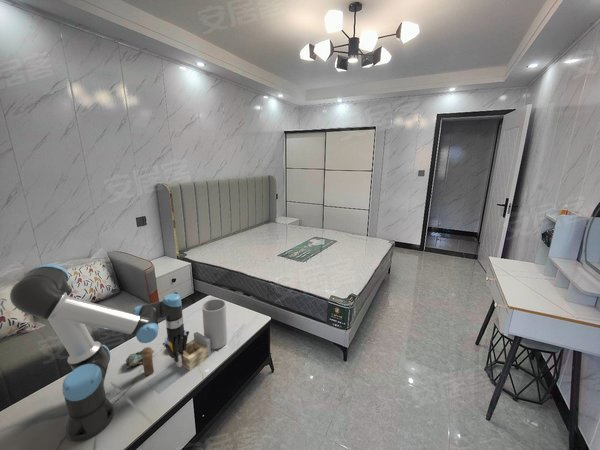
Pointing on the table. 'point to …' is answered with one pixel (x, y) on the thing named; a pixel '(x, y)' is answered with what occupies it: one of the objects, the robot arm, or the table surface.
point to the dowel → (147, 361)
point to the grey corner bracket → (175, 369)
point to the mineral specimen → (135, 359)
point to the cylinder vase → (215, 322)
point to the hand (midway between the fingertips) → (179, 365)
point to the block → (194, 354)
